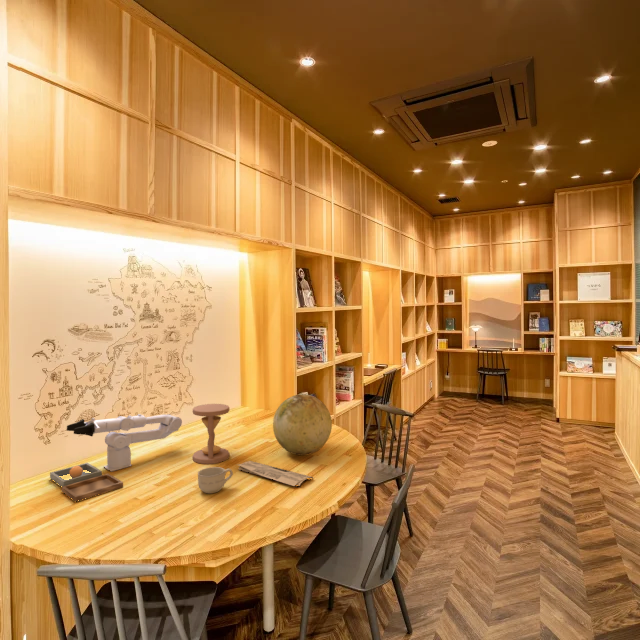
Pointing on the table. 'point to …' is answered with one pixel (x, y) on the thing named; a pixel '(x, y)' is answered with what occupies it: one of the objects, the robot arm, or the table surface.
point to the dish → (84, 476)
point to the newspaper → (273, 473)
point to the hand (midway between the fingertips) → (70, 429)
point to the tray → (92, 487)
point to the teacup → (212, 479)
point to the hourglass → (211, 433)
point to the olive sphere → (302, 424)
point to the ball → (76, 471)
